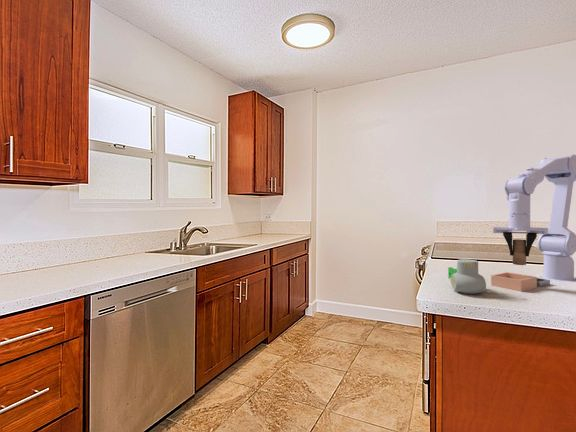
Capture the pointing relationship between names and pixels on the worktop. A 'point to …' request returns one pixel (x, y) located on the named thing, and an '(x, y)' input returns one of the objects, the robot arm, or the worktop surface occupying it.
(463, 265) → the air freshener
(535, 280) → the terracotta bin
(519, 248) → the walnut strut
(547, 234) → the robot arm
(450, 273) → the pipe clamp
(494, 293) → the worktop surface
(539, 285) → the metal socket
